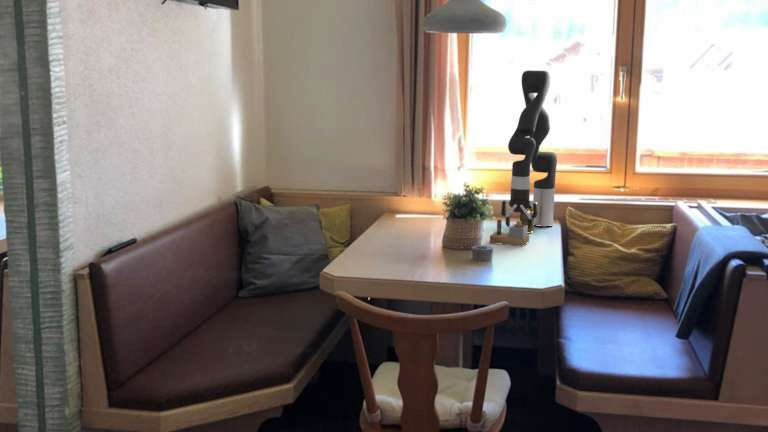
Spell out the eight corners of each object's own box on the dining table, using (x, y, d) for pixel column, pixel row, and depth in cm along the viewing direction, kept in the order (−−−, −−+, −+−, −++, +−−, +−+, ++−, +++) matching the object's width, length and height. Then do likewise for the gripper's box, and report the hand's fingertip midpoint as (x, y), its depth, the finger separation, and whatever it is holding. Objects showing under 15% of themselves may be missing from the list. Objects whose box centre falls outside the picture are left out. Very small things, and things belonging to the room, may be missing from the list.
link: (513, 233, 328) (514, 223, 327) (527, 234, 326) (527, 225, 325) (509, 237, 320) (509, 227, 320) (522, 238, 318) (523, 228, 318)
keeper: (495, 238, 331) (496, 217, 330) (529, 241, 326) (530, 220, 325) (489, 243, 323) (490, 221, 322) (524, 246, 318) (525, 223, 316)
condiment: (537, 232, 347) (538, 204, 344) (525, 234, 341) (527, 207, 339) (523, 229, 352) (525, 202, 350) (512, 232, 346) (513, 204, 344)
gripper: (540, 187, 320) (538, 227, 323) (505, 184, 326) (503, 224, 328) (536, 189, 313) (534, 230, 316) (500, 187, 319) (499, 227, 322)
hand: (518, 227), depth 322 cm, fingers open, 8 cm apart
